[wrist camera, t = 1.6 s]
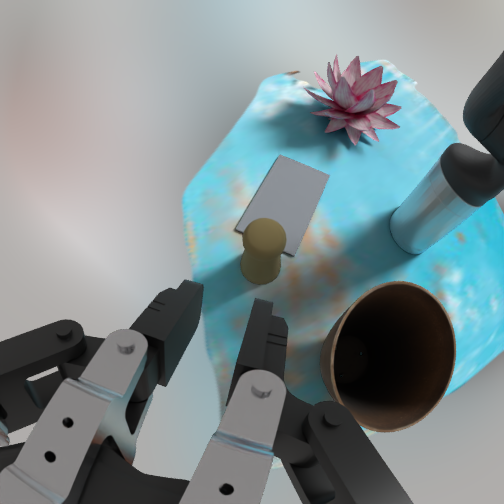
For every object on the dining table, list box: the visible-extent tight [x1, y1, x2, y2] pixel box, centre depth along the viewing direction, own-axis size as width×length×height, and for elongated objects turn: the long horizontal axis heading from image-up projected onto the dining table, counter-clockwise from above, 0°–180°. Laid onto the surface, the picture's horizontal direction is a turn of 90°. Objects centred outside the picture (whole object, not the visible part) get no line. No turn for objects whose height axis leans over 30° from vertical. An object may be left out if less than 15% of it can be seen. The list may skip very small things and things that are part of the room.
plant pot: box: [320, 281, 456, 432], centre depth 28 cm, size 15×15×16 cm
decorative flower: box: [304, 55, 401, 145], centre depth 47 cm, size 21×21×15 cm
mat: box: [236, 155, 330, 256], centre depth 45 cm, size 18×10×1 cm, turn 154°
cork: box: [240, 218, 287, 285], centre depth 36 cm, size 6×6×11 cm
